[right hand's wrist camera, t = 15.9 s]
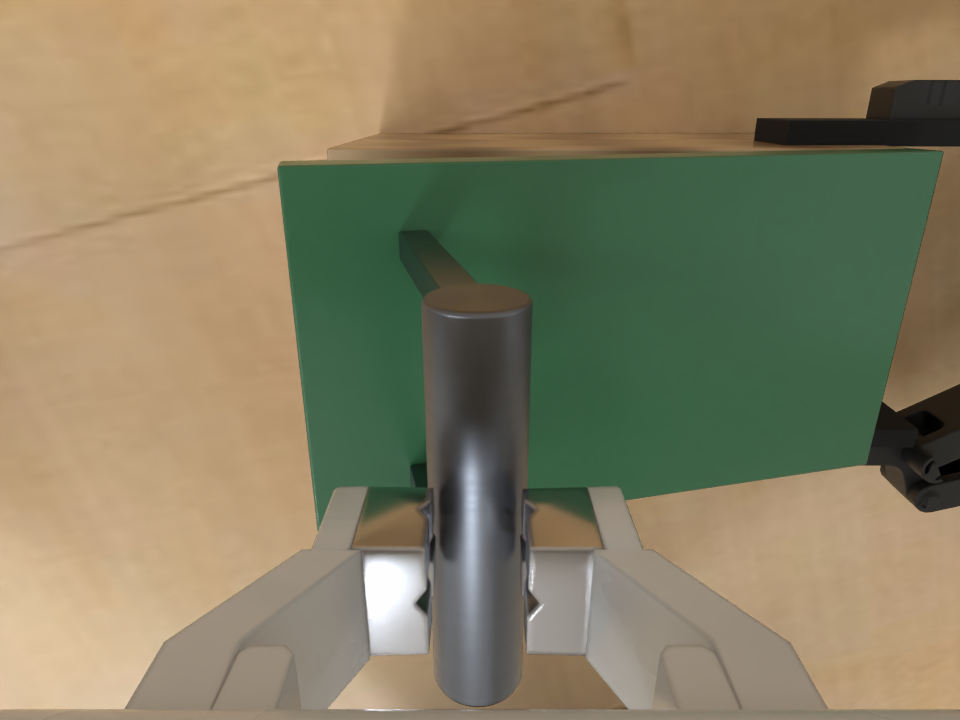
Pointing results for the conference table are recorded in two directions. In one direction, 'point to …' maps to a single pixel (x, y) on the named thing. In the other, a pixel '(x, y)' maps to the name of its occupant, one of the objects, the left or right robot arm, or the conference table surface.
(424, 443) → the lid
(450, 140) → the chest
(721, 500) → the conference table surface
